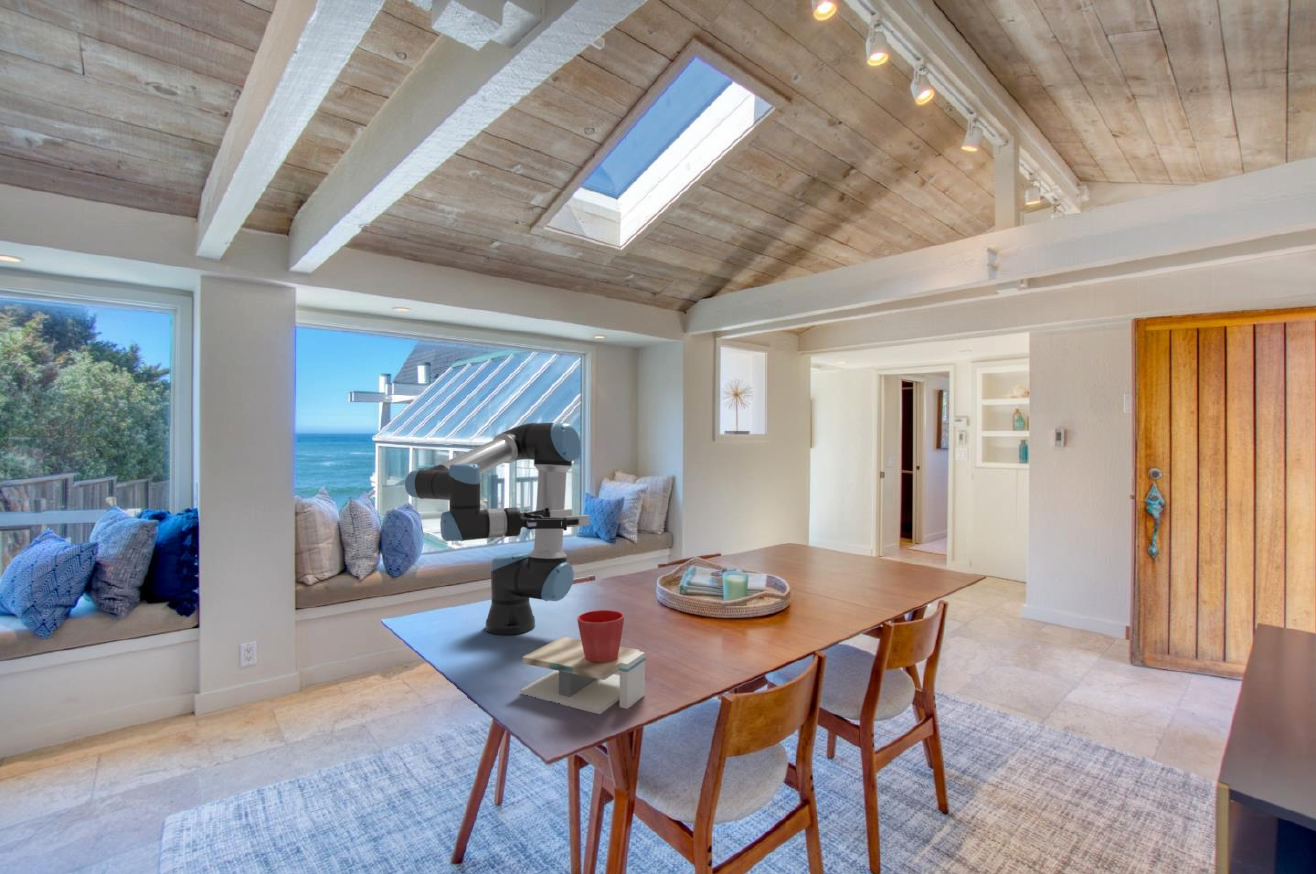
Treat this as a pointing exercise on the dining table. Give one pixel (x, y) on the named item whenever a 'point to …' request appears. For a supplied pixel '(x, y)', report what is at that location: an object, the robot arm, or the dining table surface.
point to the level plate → (574, 659)
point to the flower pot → (601, 634)
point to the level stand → (593, 687)
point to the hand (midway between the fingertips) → (580, 516)
